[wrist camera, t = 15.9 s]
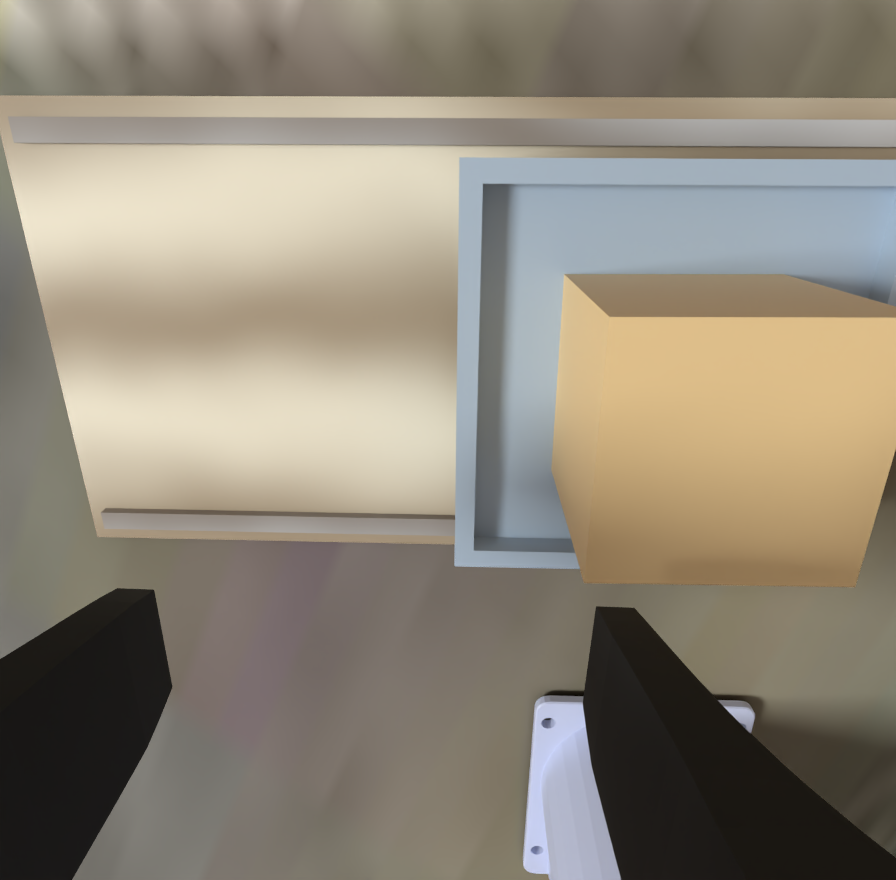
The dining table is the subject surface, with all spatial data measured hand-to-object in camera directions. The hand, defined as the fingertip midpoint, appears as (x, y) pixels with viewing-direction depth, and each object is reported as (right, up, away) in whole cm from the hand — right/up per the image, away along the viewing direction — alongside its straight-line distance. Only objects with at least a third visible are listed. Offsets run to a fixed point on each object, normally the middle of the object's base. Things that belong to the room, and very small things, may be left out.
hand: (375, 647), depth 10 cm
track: (+2, +6, +8) cm, 10 cm away
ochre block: (+6, +5, +5) cm, 9 cm away
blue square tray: (+7, +6, +8) cm, 12 cm away
